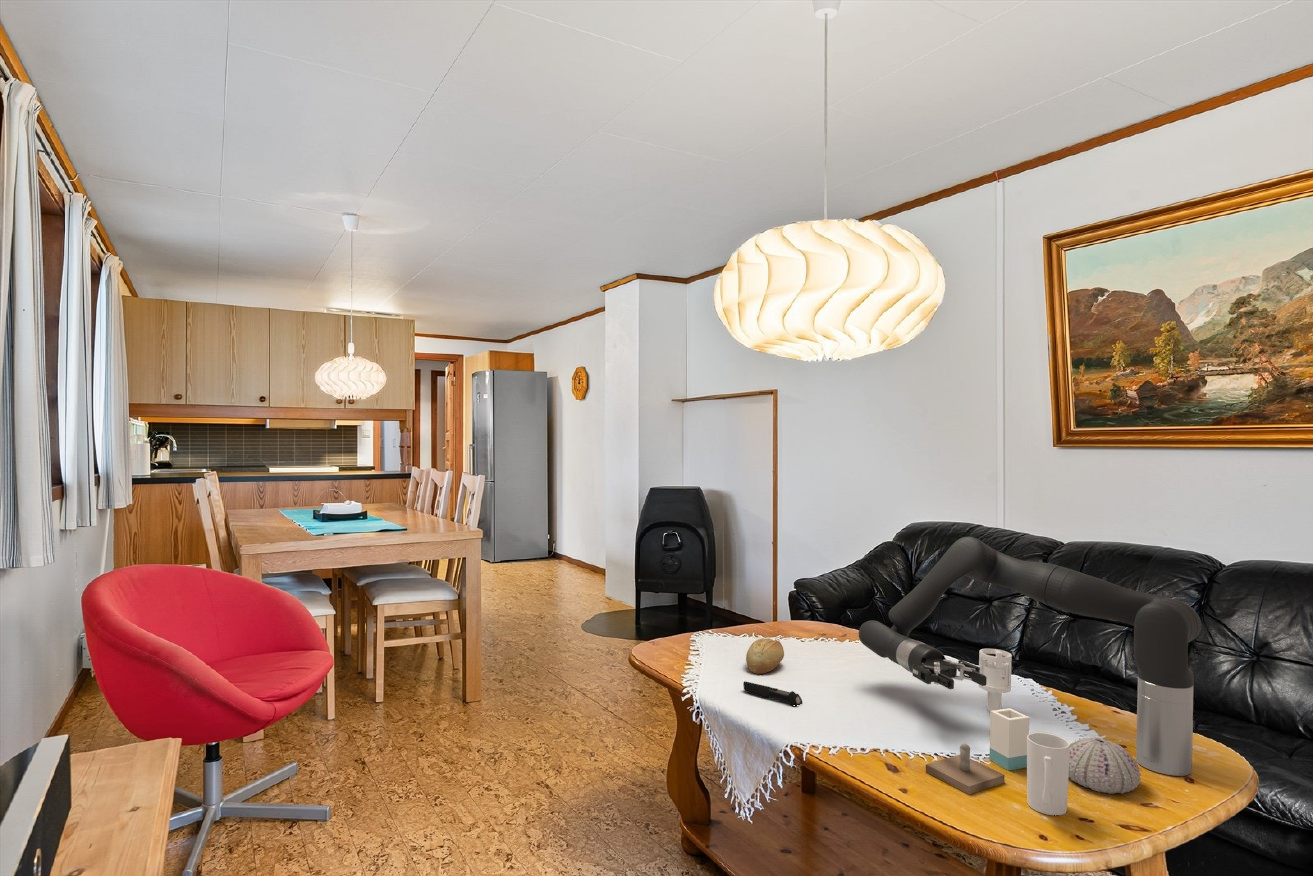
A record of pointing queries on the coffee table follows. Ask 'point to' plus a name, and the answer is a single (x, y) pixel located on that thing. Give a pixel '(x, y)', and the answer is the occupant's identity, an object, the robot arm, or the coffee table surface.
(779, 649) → the bread roll
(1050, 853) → the coffee table surface
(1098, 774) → the sea urchin shell
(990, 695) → the strainer
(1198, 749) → the coffee table surface
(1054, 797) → the mug
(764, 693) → the electric trimmer
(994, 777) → the pin board
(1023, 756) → the sleeve
